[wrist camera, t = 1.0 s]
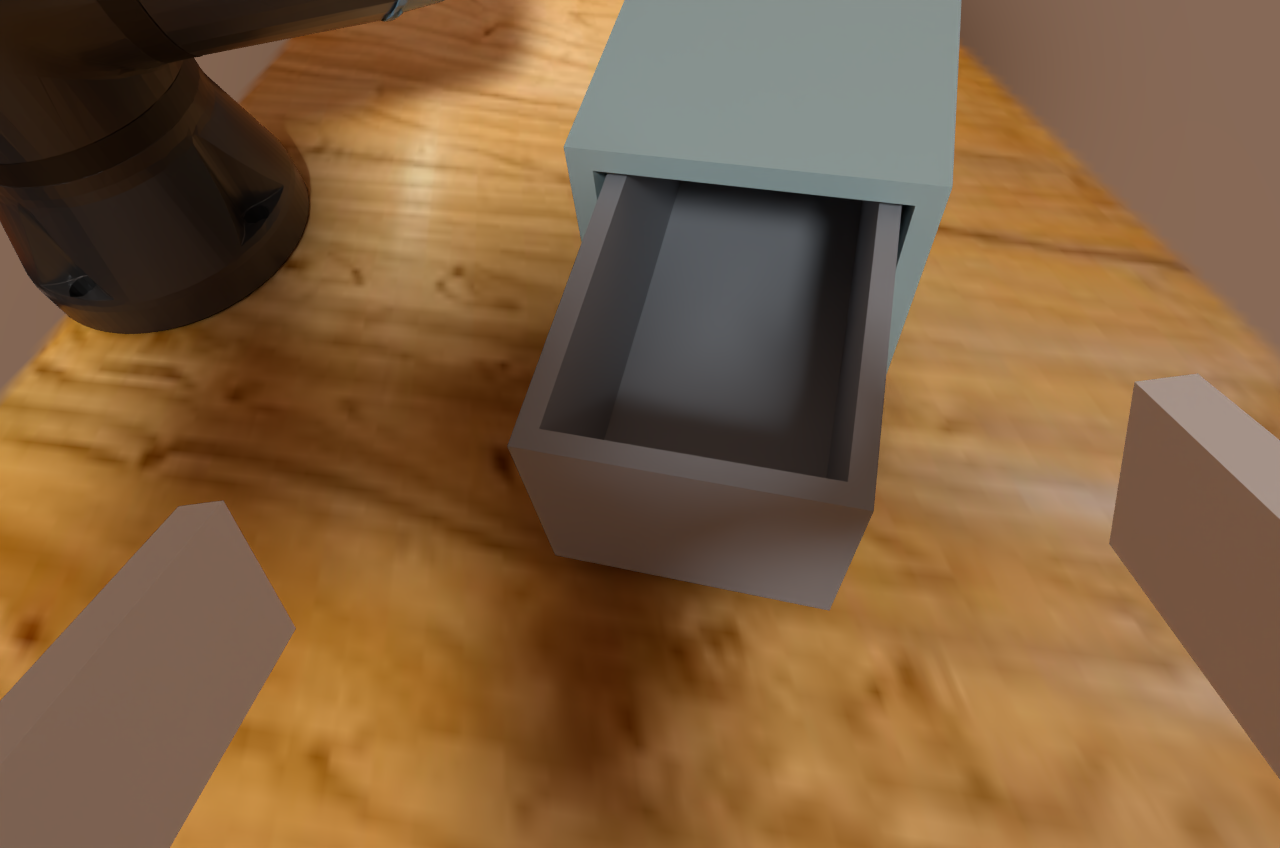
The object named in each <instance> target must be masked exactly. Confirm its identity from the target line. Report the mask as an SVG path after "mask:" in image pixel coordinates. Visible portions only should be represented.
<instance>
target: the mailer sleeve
mask: <svg viewBox="0 0 1280 848" xmlns="http://www.w3.org/2000/svg"><path fill="white" fill-rule="evenodd" d="M960 17H961V0H625V1H624V3H623V6H622V8H621V10H620V13H619V15H618V18H617V20H616V22H615V25H614V27H613V30H612V32H611V34H610V37H609V39H608V42H607V44H606V46H605V49H604V51H603V54H602V56H601V58H600V61H599V63H598V66H597V68H596V71H595V73H594V75H593V78H592V80H591V83H590V85H589V87H588V90H587V92H586V95H585V97H584V99H583V102H582V104H581V107H580V109H579V111H578V114H577V116H576V119H575V121H574V123H573V126H572V128H571V131H570V133H569V135H568V138H567V140H566V143H565V145H564V151H565V156H566V162H567V167H568V172H569V178H570V183H571V188H572V193H573V199H574V204H575V209H576V215H577V220H578V225H579V231H580V236H581V241H583V238H584V235H585V233H586V230H587V227H588V224H589V222H590V219H591V216H592V213H593V211H594V208H595V205H596V203H597V200H598V197H599V194H600V192H601V189H602V186H603V183H604V181H605V178H606V175H607V173H608V172H609V173H618V174H627V175H636V176H646V177H655V178H664V179H673V180H682V181H692V182H701V183H710V184H719V185H728V186H738V187H747V188H756V189H765V190H774V191H784V192H793V193H802V194H811V195H821V196H830V197H839V198H848V199H857V200H867V201H876V202H885V203H894V204H902V208H901V219H900V230H899V241H898V252H897V262H896V273H895V284H894V295H893V306H892V317H891V327H890V338H889V349H888V360H887V371H888V368H889V365H890V362H891V360H892V357H893V354H894V351H895V348H896V345H897V343H898V340H899V337H900V334H901V331H902V328H903V326H904V323H905V320H906V317H907V314H908V311H909V309H910V306H911V303H912V300H913V297H914V294H915V292H916V289H917V286H918V283H919V280H920V277H921V275H922V272H923V269H924V266H925V263H926V260H927V258H928V255H929V252H930V249H931V246H932V243H933V241H934V238H935V235H936V232H937V229H938V226H939V224H940V221H941V218H942V215H943V212H944V209H945V207H946V204H947V201H948V198H949V195H950V192H951V190H952V184H953V163H954V142H955V121H956V101H957V80H958V59H959V38H960ZM887 371H886V374H887Z"/></svg>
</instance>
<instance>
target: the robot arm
mask: <svg viewBox="0 0 1280 848" xmlns="http://www.w3.org/2000/svg"><path fill="white" fill-rule="evenodd" d="M442 1H444V0H0V222H1V224H2V226H3V228H4V230H5V232H6V234H7V236H8V238H9V240H10V242H11V244H12V246H13V248H14V249H15V251H16V253H17V255H18V257H19V259H20V261H21V263H22V265H23V267H24V269H25V271H26V273H27V275H28V276H29V277H30V279H31V280H32V281H33V283H34V284H35V285H36V287H37V288H39V290H41V292H42V293H44V294H45V295H46V296H47V297H48V298H49V299H50V300H51V301H52V302H53V303H54V304H56V305H57V306H58V307H59V308H60V309H61V310H62V311H63V312H64V313H65V314H67V315H68V316H69V317H70V318H72V319H74V320H75V321H77V322H79V323H81V324H83V325H85V326H88V327H90V328H93V329H97V330H100V331H105V332H112V333H123V334H138V333H150V332H158V331H163V330H168V329H172V328H177V327H180V326H184V325H187V324H190V323H193V322H196V321H199V320H201V319H204V318H206V317H209V316H211V315H213V314H215V313H217V312H220V311H222V310H223V309H225V308H227V307H229V306H231V305H233V304H234V303H236V302H238V301H239V300H241V299H242V298H244V297H245V296H247V295H249V294H250V293H251V292H253V291H254V290H255V289H257V288H258V287H259V286H260V285H262V284H263V283H264V282H265V281H266V280H267V279H268V278H270V277H271V276H272V275H273V274H274V273H275V272H276V271H277V270H278V269H279V268H280V266H281V265H282V264H283V263H284V262H285V261H286V259H287V258H288V257H289V255H290V254H291V253H292V251H293V250H294V248H295V247H296V245H297V243H298V241H299V239H300V237H301V235H302V233H303V231H304V228H305V225H306V221H307V217H308V211H309V197H308V191H307V188H306V185H305V183H304V180H303V179H302V177H301V175H300V173H299V171H298V170H297V168H296V166H295V164H294V163H293V161H292V159H291V157H290V156H289V154H288V152H287V151H286V149H285V148H284V147H283V145H282V144H281V143H280V142H279V140H278V139H277V138H276V137H275V136H274V135H272V134H271V133H270V132H269V131H268V130H267V129H266V128H265V127H264V126H262V125H261V124H260V123H259V122H258V121H257V120H256V119H255V118H254V117H252V116H251V115H250V114H249V113H248V112H247V111H246V110H245V109H244V108H242V107H241V106H240V105H239V104H238V103H237V102H236V101H235V100H234V99H232V98H231V97H230V96H229V95H228V94H227V93H226V92H224V91H223V90H222V89H221V88H220V87H219V86H218V85H217V84H216V83H215V82H213V81H212V80H211V79H210V78H209V77H208V76H207V75H206V74H205V73H204V72H203V71H202V70H201V68H200V67H199V65H198V64H197V62H196V60H195V59H194V57H200V56H203V55H207V54H212V53H217V52H222V51H227V50H232V49H237V48H242V47H248V46H253V45H258V44H263V43H268V42H273V41H278V40H282V39H288V38H293V37H299V36H304V35H309V34H314V33H319V32H324V31H329V30H334V29H339V28H344V27H350V26H355V25H360V24H365V23H370V22H375V21H380V20H381V21H384V22H385V21H391V20H394V19H396V18H397V17H399V16H400V15H401V14H402V13H403V12H406V11H409V10H413V9H417V8H420V7H424V6H427V5H431V4H435V3H438V2H442ZM1109 544H1110V545H1111V547H1112V548H1113V549H1114V551H1115V552H1116V554H1117V555H1118V556H1119V558H1120V559H1121V561H1122V562H1123V563H1124V565H1125V566H1126V567H1127V569H1128V570H1129V572H1130V573H1131V574H1132V576H1133V577H1134V578H1135V580H1136V581H1137V583H1138V584H1139V585H1140V587H1141V588H1142V590H1143V591H1144V592H1145V594H1146V595H1147V596H1148V598H1149V599H1150V601H1151V602H1152V603H1153V605H1154V606H1155V608H1156V609H1157V610H1158V612H1159V613H1160V614H1161V616H1162V617H1163V619H1164V620H1165V621H1166V623H1167V624H1168V625H1169V627H1170V628H1171V630H1172V631H1173V632H1174V634H1175V635H1176V637H1177V638H1178V639H1179V641H1180V642H1181V643H1182V645H1183V646H1184V648H1185V649H1186V650H1187V652H1188V653H1189V655H1190V656H1191V657H1192V659H1193V660H1194V661H1195V663H1196V664H1197V666H1198V667H1199V668H1200V670H1201V671H1202V672H1203V674H1204V675H1205V677H1206V678H1207V679H1208V681H1209V682H1210V684H1211V685H1212V686H1213V688H1214V689H1215V690H1216V692H1217V693H1218V695H1219V696H1220V697H1221V699H1222V700H1223V702H1224V703H1225V704H1226V706H1227V707H1228V708H1229V710H1230V711H1231V713H1232V714H1233V715H1234V717H1235V718H1236V719H1237V721H1238V722H1239V724H1240V725H1241V726H1242V728H1243V729H1244V731H1245V732H1246V733H1247V735H1248V736H1249V737H1250V739H1251V740H1252V742H1253V743H1254V744H1255V746H1256V747H1257V748H1258V750H1259V751H1260V753H1261V754H1262V755H1263V757H1264V758H1265V760H1266V761H1267V762H1268V764H1269V765H1270V766H1271V768H1272V769H1273V771H1274V772H1275V773H1276V775H1277V776H1278V778H1279V779H1280V440H1279V439H1277V438H1276V437H1275V436H1274V435H1272V434H1271V433H1270V432H1269V431H1268V430H1266V429H1265V428H1264V427H1263V426H1261V425H1260V424H1259V423H1258V422H1256V421H1255V420H1254V419H1253V418H1252V417H1250V416H1249V415H1248V414H1247V413H1245V412H1244V411H1243V410H1242V409H1240V408H1239V407H1238V406H1237V405H1236V404H1234V403H1233V402H1232V401H1231V400H1229V399H1228V398H1227V397H1226V396H1225V395H1223V394H1222V393H1221V392H1220V391H1218V390H1217V389H1216V388H1215V387H1213V386H1212V385H1211V384H1210V383H1209V382H1207V381H1206V380H1205V379H1204V378H1202V377H1201V376H1200V375H1199V374H1191V375H1183V376H1176V377H1168V378H1160V379H1153V380H1145V381H1137V382H1135V383H1134V389H1133V395H1132V402H1131V408H1130V415H1129V421H1128V427H1127V434H1126V440H1125V447H1124V453H1123V459H1122V466H1121V472H1120V478H1119V485H1118V491H1117V498H1116V504H1115V510H1114V517H1113V523H1112V529H1111V536H1110V542H1109ZM295 629H296V628H295V626H294V624H293V623H292V621H291V619H290V617H289V616H288V614H287V612H286V610H285V609H284V607H283V605H282V603H281V601H280V600H279V598H278V596H277V594H276V593H275V591H274V589H273V587H272V586H271V584H270V582H269V580H268V578H267V577H266V575H265V573H264V571H263V570H262V568H261V566H260V564H259V563H258V561H257V559H256V557H255V555H254V554H253V552H252V550H251V548H250V547H249V545H248V543H247V541H246V540H245V538H244V536H243V534H242V532H241V531H240V529H239V527H238V525H237V524H236V522H235V520H234V518H233V517H232V515H231V513H230V511H229V510H228V508H227V506H226V504H225V502H224V501H215V502H208V503H200V504H192V505H185V506H178V507H177V508H176V510H175V511H174V512H173V513H172V514H171V515H170V516H169V517H168V518H167V519H166V520H165V522H164V523H163V524H162V525H161V526H160V527H159V528H158V529H157V530H156V531H155V532H154V534H153V535H152V536H151V537H150V538H149V539H148V540H147V541H146V542H145V543H144V544H143V546H142V547H141V548H140V549H139V550H138V551H137V552H136V553H135V554H134V555H133V556H132V558H131V559H130V560H129V561H128V562H127V563H126V564H125V565H124V566H123V567H122V568H121V570H120V571H119V572H118V573H117V574H116V575H115V576H114V577H113V578H112V579H111V581H110V582H109V583H108V584H107V585H106V586H105V587H104V588H103V589H102V590H101V591H100V593H99V594H98V595H97V596H96V597H95V598H94V599H93V600H92V601H91V602H90V603H89V605H88V606H87V607H86V608H85V609H84V610H83V611H82V612H81V613H80V614H79V615H78V617H77V618H76V619H75V620H74V621H73V622H72V623H71V624H70V625H69V626H68V627H67V629H66V630H65V631H64V632H63V633H62V634H61V635H60V636H59V637H58V638H57V639H56V641H55V642H54V643H53V644H52V645H51V646H50V647H49V648H48V649H47V650H46V651H45V653H44V654H43V655H42V656H41V657H40V658H39V659H38V660H37V661H36V662H35V663H34V665H33V666H32V667H31V668H30V669H29V670H28V671H27V672H26V673H25V674H24V675H23V677H22V678H21V679H20V680H19V681H18V682H17V683H16V684H15V685H14V686H13V687H12V689H11V690H10V691H9V692H8V693H7V694H6V695H5V696H4V697H3V698H2V700H1V701H0V848H170V846H171V845H172V843H173V841H174V839H175V838H176V836H177V834H178V832H179V831H180V829H181V827H182V825H183V824H184V822H185V820H186V818H187V817H188V815H189V813H190V812H191V810H192V808H193V806H194V805H195V803H196V801H197V799H198V798H199V796H200V794H201V792H202V791H203V789H204V787H205V785H206V784H207V782H208V780H209V778H210V777H211V775H212V773H213V772H214V770H215V768H216V766H217V765H218V763H219V761H220V759H221V758H222V756H223V754H224V752H225V751H226V749H227V747H228V745H229V744H230V742H231V740H232V739H233V737H234V735H235V733H236V732H237V730H238V728H239V726H240V725H241V723H242V721H243V719H244V718H245V716H246V714H247V712H248V711H249V709H250V707H251V706H252V704H253V702H254V700H255V699H256V697H257V695H258V693H259V692H260V690H261V688H262V686H263V685H264V683H265V681H266V679H267V678H268V676H269V674H270V673H271V671H272V669H273V667H274V666H275V664H276V662H277V660H278V659H279V657H280V655H281V653H282V652H283V650H284V648H285V646H286V645H287V643H288V641H289V639H290V638H291V636H292V634H293V633H294V631H295Z"/></svg>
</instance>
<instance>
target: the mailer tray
mask: <svg viewBox="0 0 1280 848" xmlns="http://www.w3.org/2000/svg"><path fill="white" fill-rule="evenodd" d="M901 208H902V204H894V203H885V202H876V201H867V200H857V199H848V198H839V197H830V196H821V195H811V194H802V193H793V192H784V191H774V190H765V189H756V188H747V187H738V186H728V185H719V184H710V183H701V182H692V181H682V180H673V179H664V178H655V177H646V176H636V175H627V174H618V173H609V172H608V173H607V175H606V178H605V181H604V183H603V186H602V189H601V192H600V194H599V197H598V200H597V203H596V205H595V208H594V211H593V213H592V216H591V219H590V222H589V224H588V227H587V230H586V233H585V235H584V238H583V241H582V244H581V246H580V249H579V252H578V254H577V257H576V260H575V263H574V265H573V268H572V271H571V274H570V276H569V279H568V282H567V285H566V287H565V290H564V293H563V295H562V298H561V301H560V304H559V306H558V309H557V312H556V315H555V317H554V320H553V323H552V326H551V328H550V331H549V334H548V336H547V339H546V342H545V345H544V347H543V350H542V353H541V356H540V358H539V361H538V364H537V367H536V369H535V372H534V375H533V377H532V380H531V383H530V386H529V388H528V391H527V394H526V397H525V399H524V402H523V405H522V407H521V410H520V413H519V416H518V418H517V421H516V424H515V427H514V429H513V432H512V435H511V438H510V440H509V443H508V446H507V447H508V449H509V451H510V453H511V456H512V458H513V460H514V462H515V465H516V467H517V469H518V472H519V474H520V476H521V478H522V481H523V483H524V485H525V487H526V490H527V492H528V494H529V497H530V499H531V501H532V503H533V506H534V508H535V510H536V512H537V515H538V517H539V519H540V522H541V524H542V526H543V528H544V531H545V533H546V535H547V537H548V540H549V542H550V544H551V547H552V549H553V551H554V553H555V555H557V556H562V557H567V558H572V559H577V560H582V561H587V562H592V563H597V564H602V565H607V566H612V567H617V568H622V569H627V570H632V571H636V572H641V573H646V574H651V575H656V576H661V577H666V578H671V579H676V580H681V581H686V582H691V583H696V584H701V585H706V586H711V587H716V588H721V589H726V590H731V591H736V592H741V593H746V594H750V595H755V596H760V597H765V598H770V599H775V600H780V601H785V602H790V603H795V604H800V605H805V606H810V607H815V608H820V609H825V610H830V608H831V606H832V603H833V601H834V599H835V597H836V594H837V592H838V590H839V588H840V585H841V583H842V581H843V579H844V576H845V574H846V572H847V570H848V567H849V565H850V563H851V561H852V558H853V556H854V554H855V552H856V549H857V547H858V545H859V543H860V540H861V538H862V536H863V534H864V531H865V529H866V527H867V525H868V523H869V520H870V518H871V516H872V514H873V511H874V501H875V490H876V479H877V468H878V457H879V446H880V436H881V425H882V414H883V403H884V392H885V381H886V371H887V360H888V349H889V338H890V327H891V317H892V306H893V295H894V284H895V273H896V262H897V252H898V241H899V230H900V219H901Z"/></svg>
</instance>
